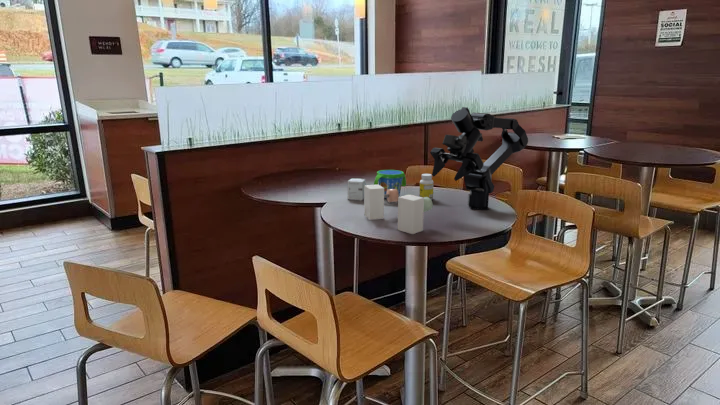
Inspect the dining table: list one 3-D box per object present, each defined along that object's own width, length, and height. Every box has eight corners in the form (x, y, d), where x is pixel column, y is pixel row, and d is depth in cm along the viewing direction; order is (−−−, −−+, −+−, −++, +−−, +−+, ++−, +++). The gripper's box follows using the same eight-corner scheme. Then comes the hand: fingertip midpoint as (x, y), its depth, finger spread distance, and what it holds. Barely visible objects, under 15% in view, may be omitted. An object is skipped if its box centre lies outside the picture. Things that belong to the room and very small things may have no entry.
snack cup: (397, 192, 201) (397, 167, 198) (413, 197, 192) (414, 171, 190) (366, 197, 193) (366, 171, 190) (381, 202, 184) (382, 176, 182)
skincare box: (347, 199, 189) (347, 181, 187) (351, 195, 195) (351, 177, 193) (362, 200, 188) (362, 181, 186) (366, 196, 193) (366, 178, 192)
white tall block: (378, 213, 170) (378, 184, 167) (383, 218, 164) (384, 188, 161) (364, 215, 168) (364, 185, 165) (369, 219, 163) (369, 189, 160)
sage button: (421, 209, 157) (421, 195, 156) (432, 211, 154) (432, 198, 153) (408, 213, 153) (408, 199, 152) (419, 215, 150) (419, 202, 149)
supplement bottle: (418, 197, 192) (419, 173, 190) (432, 197, 192) (433, 173, 190) (419, 200, 187) (420, 176, 185) (433, 200, 187) (434, 176, 185)
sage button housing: (408, 226, 156) (408, 194, 153) (422, 230, 151) (423, 197, 149) (397, 229, 152) (398, 197, 150) (412, 234, 148) (413, 200, 145)
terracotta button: (393, 199, 169) (394, 187, 168) (398, 203, 165) (398, 190, 164) (376, 201, 167) (376, 188, 166) (380, 204, 163) (380, 191, 162)
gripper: (435, 123, 167) (411, 158, 162) (481, 128, 153) (456, 166, 149) (448, 145, 174) (426, 179, 169) (493, 151, 160) (470, 188, 156)
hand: (443, 177), depth 160 cm, fingers open, 9 cm apart
